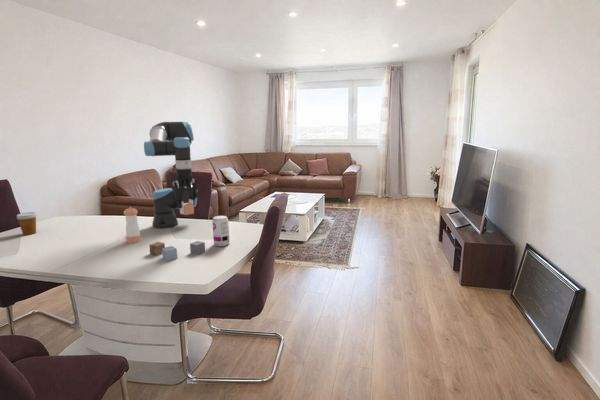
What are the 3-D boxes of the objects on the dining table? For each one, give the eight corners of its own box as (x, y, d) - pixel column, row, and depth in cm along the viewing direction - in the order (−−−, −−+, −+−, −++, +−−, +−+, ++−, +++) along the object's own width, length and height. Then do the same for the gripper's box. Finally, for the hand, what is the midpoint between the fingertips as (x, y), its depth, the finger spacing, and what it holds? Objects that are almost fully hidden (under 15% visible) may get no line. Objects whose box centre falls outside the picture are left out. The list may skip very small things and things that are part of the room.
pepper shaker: (135, 243, 190) (131, 209, 186) (123, 242, 191) (119, 208, 187) (143, 239, 197) (140, 206, 193) (132, 238, 198) (128, 205, 194)
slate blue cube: (162, 258, 169) (161, 248, 168) (172, 255, 172) (171, 246, 171) (167, 261, 165) (166, 251, 164) (177, 258, 168) (176, 248, 167)
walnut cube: (150, 254, 174) (149, 244, 173) (158, 251, 179) (157, 241, 177) (157, 255, 172) (156, 246, 171) (165, 252, 176) (164, 243, 175)
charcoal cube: (190, 253, 175) (189, 243, 174) (198, 250, 179) (197, 240, 178) (197, 255, 173) (196, 245, 172) (205, 252, 177) (204, 242, 176)
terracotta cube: (180, 213, 183) (179, 204, 182) (188, 211, 187) (187, 202, 186) (185, 215, 180) (185, 205, 179) (194, 213, 184) (193, 203, 183)
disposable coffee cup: (43, 231, 213) (40, 212, 211) (30, 236, 204) (26, 216, 202) (29, 231, 214) (25, 211, 212) (15, 235, 205) (11, 215, 202)
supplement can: (214, 247, 182) (212, 219, 179) (213, 242, 190) (212, 215, 187) (230, 246, 185) (228, 218, 182) (228, 241, 192) (227, 214, 189)
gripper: (171, 170, 169) (175, 217, 174) (203, 167, 183) (205, 210, 188) (163, 169, 174) (167, 215, 179) (194, 166, 188) (197, 208, 193)
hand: (187, 212), depth 183 cm, fingers closed on terracotta cube, 5 cm apart
